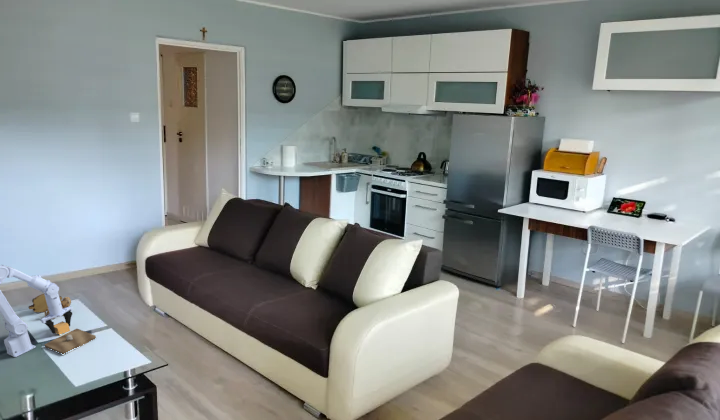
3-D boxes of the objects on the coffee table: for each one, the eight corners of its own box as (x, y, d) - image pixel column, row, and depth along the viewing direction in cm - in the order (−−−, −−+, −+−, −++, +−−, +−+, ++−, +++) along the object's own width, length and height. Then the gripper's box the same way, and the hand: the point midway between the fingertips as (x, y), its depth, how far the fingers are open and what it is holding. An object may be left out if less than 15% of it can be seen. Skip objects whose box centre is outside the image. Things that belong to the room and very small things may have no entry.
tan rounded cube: (59, 335, 254) (57, 328, 253) (54, 333, 256) (52, 326, 255) (70, 330, 258) (68, 323, 257) (64, 328, 261) (62, 321, 259)
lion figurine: (72, 309, 281) (68, 294, 278) (75, 312, 277) (70, 297, 274) (42, 319, 272) (37, 304, 269) (44, 323, 268) (39, 307, 265)
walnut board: (63, 355, 236) (61, 347, 234) (45, 347, 244) (42, 339, 243) (96, 338, 248) (94, 330, 247) (77, 331, 257) (75, 323, 255)
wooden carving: (61, 302, 290) (57, 286, 287) (64, 304, 287) (60, 288, 284) (29, 315, 278) (24, 298, 275) (32, 317, 275) (27, 300, 272)
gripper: (43, 313, 245) (51, 338, 249) (73, 300, 256) (79, 324, 260) (36, 310, 248) (43, 335, 253) (65, 297, 260) (72, 321, 264)
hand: (61, 329), depth 257 cm, fingers open, 7 cm apart
